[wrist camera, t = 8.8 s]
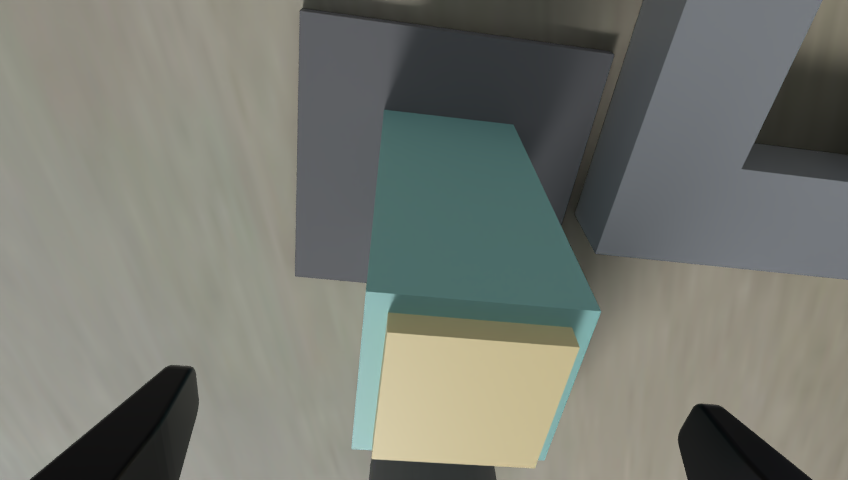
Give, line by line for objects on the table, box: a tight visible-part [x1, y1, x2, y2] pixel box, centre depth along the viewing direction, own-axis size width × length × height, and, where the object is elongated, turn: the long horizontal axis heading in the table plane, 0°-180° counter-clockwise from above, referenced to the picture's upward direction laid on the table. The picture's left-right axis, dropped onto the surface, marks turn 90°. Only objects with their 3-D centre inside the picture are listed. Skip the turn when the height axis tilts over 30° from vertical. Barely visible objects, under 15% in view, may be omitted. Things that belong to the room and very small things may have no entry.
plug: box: [352, 110, 601, 468], centre depth 14 cm, size 4×4×10 cm
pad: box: [295, 8, 614, 283], centre depth 18 cm, size 9×9×1 cm
